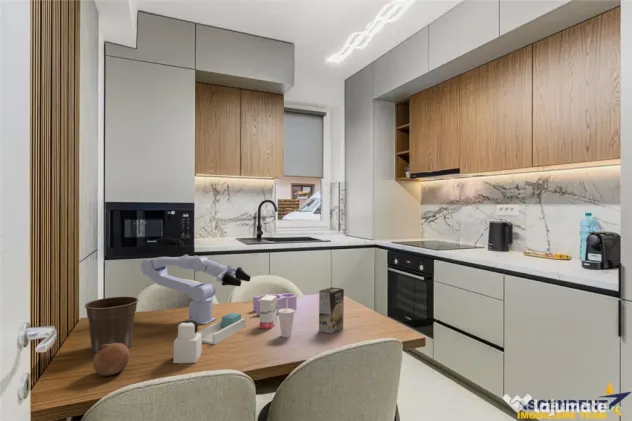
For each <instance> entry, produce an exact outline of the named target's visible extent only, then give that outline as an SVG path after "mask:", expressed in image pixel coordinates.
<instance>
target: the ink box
mask: <svg viewBox="0 0 632 421" xmlns="http://www.w3.org/2000/svg"><path fill="white" fill-rule="evenodd" d="M277 322H278V314H277V296H273V295H265V296H264V297H263V298H261V299H260V315H259V329H264V330H265V329H267V330H269V329H270V330H271V329H272V328H273V327H274V326H275V325H277Z"/></svg>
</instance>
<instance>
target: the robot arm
mask: <svg viewBox="0 0 632 421" xmlns="http://www.w3.org/2000/svg"><path fill="white" fill-rule="evenodd" d="M169 266H175V267H176V266H177V267H179V269H180V270H181V269H182V270H191V271H194V272H200V271H201V272H203V273H206V274H207V275H210V276H213V277H215V278H216V281H217V282H220V283H221V286H223V287H224V286H233V287H234V286H235V287H241V285H242V281H243V282H246V283H248V282H251V275H250V274H248V273H246V272H245V271H244V270H243V269H242V268H243V267H241V266H238V267H236V268H234V267H232V265H231V264H229V265H224V264H221V263H219V262H216V261H213V260H211V259H210V258H209V257H208V256H205V255H202V256H198V255H193V256H192V255H191V256H190V255H189V254H183V255H182V256H180V257H170V256H158V257H154V258H150V259H148V258H147V259H143V260H142V262H141V264H140V269H141V272H142V274H143V275H144V276H146V277H148V278H149V279H151V281H153V282H154V283H155V284H156V285H159V286H162V287H165V288H167V289H171V290H174V291H176V292H177V291H178V292H181V293H184V294H187V297H188V298H191V299H192V300H191V301H190V302H189V304H188V320H193V321H196V322H197V323H198V325H207V324H209V323H211V322H213V321H216V320H217V317H213V299H214V296H215V295H216V290H217V289H216V287H215V285H214V284H213V283H211V282H207V283H204V282H194V281H190V280H188V279H183V278H180V277H177V276H175V275H174V276H173V275H169V273H168V267H169Z"/></svg>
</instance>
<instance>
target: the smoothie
mask: <svg viewBox="0 0 632 421" xmlns="http://www.w3.org/2000/svg"><path fill="white" fill-rule="evenodd" d="M295 311H296V310H295ZM295 311H294V310H293V309H290V308H288V299H286V308H284V309H280V310H278V314H277V315H278V316H279V317H278V318H279V326H280V333H281V334H280V336H281V337H283V338H291V337H292V333H293V332H292V331H293V322H294V316H295V315H294V314H295V313H296V312H295Z"/></svg>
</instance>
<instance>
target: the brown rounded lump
mask: <svg viewBox="0 0 632 421" xmlns="http://www.w3.org/2000/svg"><path fill="white" fill-rule="evenodd" d="M97 350H98V351H97V353H94V356H93V358H92V366H93V369H94V371H95V372H96V373H97V374H98V375H100V376H103V377H107V376H113V375H117V374H116V373H118V374H120V373H121V372H123V371H124V370H125V369H126V367H127V365H128V363H129V361H130V358H131V354H130V350H129V348H127V346H125V345H124V344H122V343H113V344H104V345H101V346H100V348H98V349H97ZM119 372H120V373H119Z"/></svg>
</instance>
